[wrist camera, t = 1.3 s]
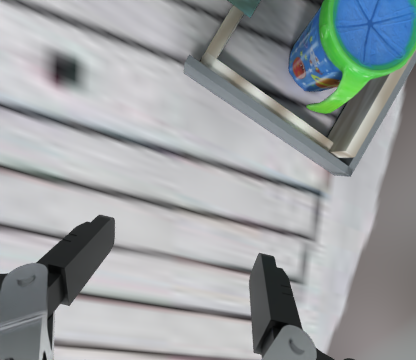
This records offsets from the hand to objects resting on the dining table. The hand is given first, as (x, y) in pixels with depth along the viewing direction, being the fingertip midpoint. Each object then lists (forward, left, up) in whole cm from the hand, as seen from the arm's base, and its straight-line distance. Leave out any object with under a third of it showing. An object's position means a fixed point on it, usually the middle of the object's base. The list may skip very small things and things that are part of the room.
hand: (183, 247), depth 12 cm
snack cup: (+7, +25, -17) cm, 32 cm away
